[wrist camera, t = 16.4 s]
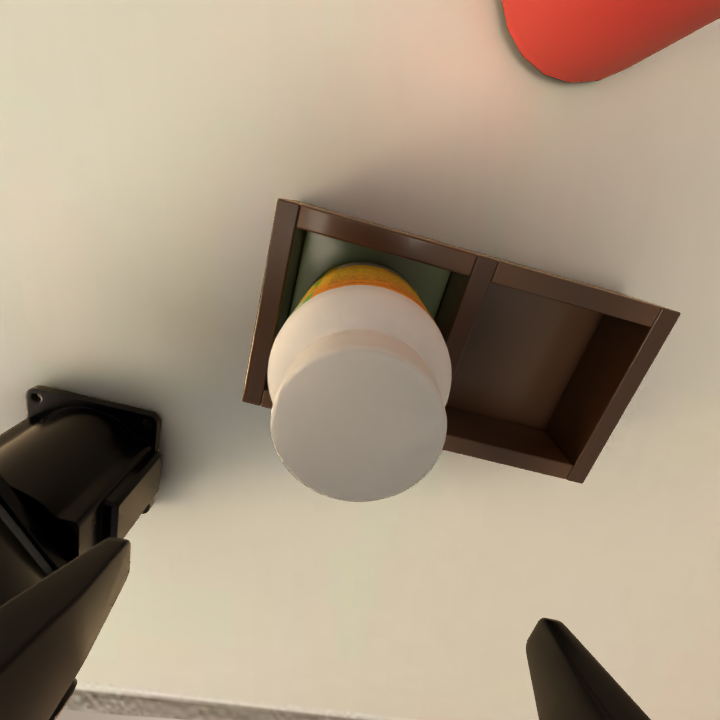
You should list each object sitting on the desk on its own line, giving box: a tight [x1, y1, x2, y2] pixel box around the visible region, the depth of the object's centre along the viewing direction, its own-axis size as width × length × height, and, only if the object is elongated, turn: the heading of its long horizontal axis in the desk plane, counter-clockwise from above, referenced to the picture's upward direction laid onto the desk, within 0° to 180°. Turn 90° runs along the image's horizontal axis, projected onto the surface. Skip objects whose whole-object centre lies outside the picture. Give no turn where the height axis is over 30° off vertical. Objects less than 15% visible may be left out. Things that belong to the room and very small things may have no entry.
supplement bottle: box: [267, 260, 452, 502], centre depth 13 cm, size 5×5×10 cm
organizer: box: [242, 198, 680, 483], centre depth 17 cm, size 15×8×4 cm, turn 75°
